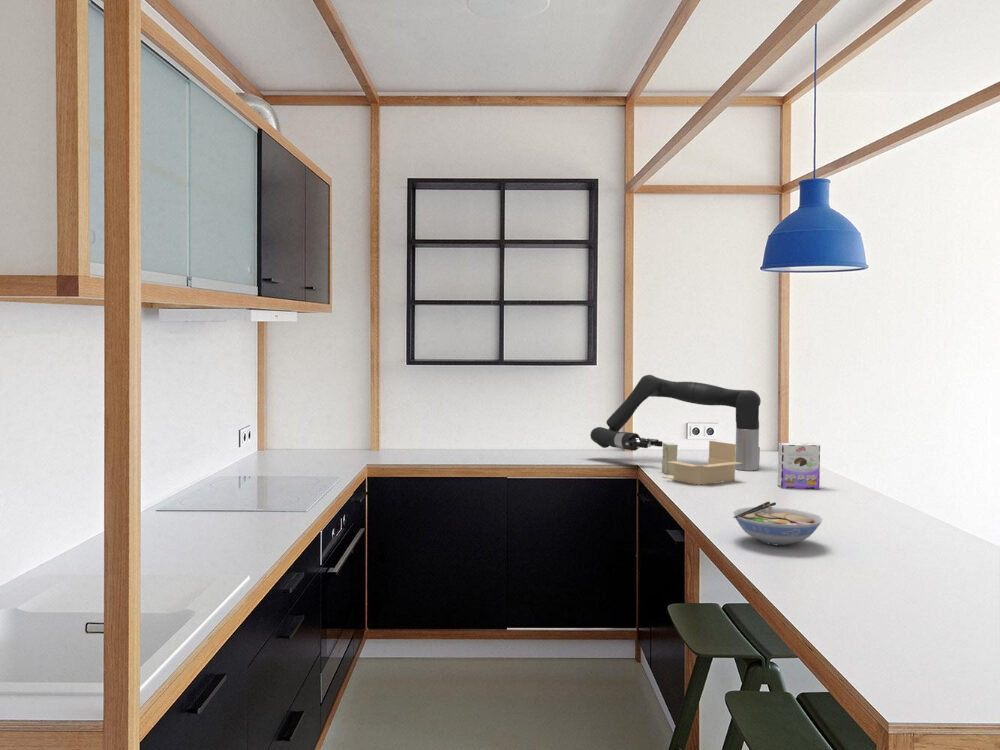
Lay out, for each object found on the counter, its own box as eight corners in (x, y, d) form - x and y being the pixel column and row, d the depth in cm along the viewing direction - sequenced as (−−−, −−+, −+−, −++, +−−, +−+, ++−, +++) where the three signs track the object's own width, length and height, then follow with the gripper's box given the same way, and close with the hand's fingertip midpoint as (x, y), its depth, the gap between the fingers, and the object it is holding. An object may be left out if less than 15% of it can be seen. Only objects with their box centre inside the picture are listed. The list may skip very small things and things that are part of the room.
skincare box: (661, 472, 334) (662, 442, 333) (672, 472, 334) (672, 442, 334) (666, 474, 328) (667, 444, 327) (677, 474, 328) (677, 444, 328)
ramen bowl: (800, 559, 202) (801, 526, 202) (715, 543, 218) (715, 512, 217) (836, 541, 221) (837, 511, 221) (755, 527, 236) (756, 499, 236)
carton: (696, 473, 332) (697, 438, 332) (742, 481, 313) (743, 445, 312) (654, 478, 319) (654, 442, 318) (699, 487, 299) (700, 449, 299)
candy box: (815, 486, 305) (816, 442, 304) (819, 489, 299) (821, 444, 298) (777, 485, 306) (778, 441, 306) (780, 488, 300) (782, 443, 300)
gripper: (615, 433, 347) (642, 437, 333) (639, 431, 355) (666, 434, 342) (615, 451, 347) (642, 455, 334) (639, 448, 355) (666, 452, 342)
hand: (654, 444), depth 338 cm, fingers open, 8 cm apart
